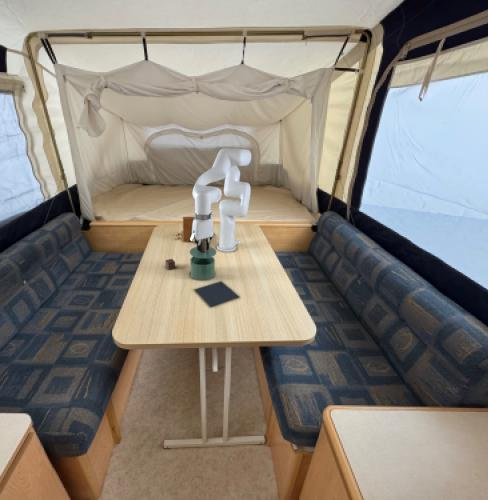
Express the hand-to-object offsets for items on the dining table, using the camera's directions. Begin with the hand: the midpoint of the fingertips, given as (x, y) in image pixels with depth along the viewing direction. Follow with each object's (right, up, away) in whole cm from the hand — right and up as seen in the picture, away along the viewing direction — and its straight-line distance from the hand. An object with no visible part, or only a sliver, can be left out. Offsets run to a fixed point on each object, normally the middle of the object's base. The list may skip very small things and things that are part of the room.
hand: (203, 249), depth 135 cm
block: (-18, -10, +12) cm, 24 cm away
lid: (0, -1, +1) cm, 1 cm away
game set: (-6, +8, +51) cm, 53 cm away
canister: (0, -13, +5) cm, 14 cm away
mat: (+6, -21, -11) cm, 24 cm away
